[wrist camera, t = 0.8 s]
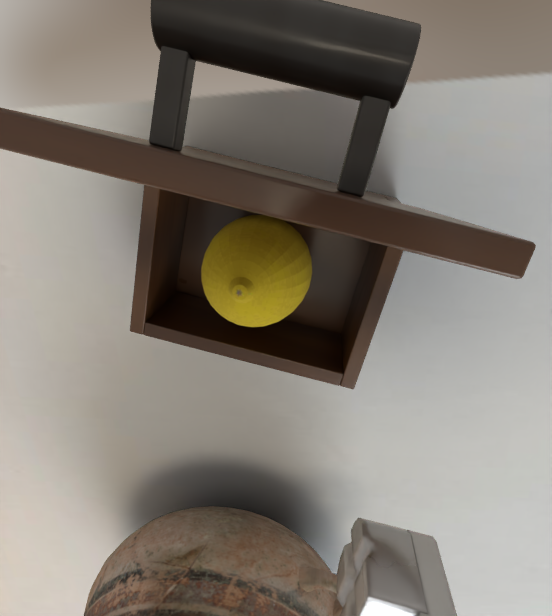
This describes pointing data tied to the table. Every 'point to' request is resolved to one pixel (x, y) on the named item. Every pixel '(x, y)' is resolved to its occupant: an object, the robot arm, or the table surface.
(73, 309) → the table surface
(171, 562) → the cooking pot
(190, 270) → the chest
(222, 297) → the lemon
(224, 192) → the lid
